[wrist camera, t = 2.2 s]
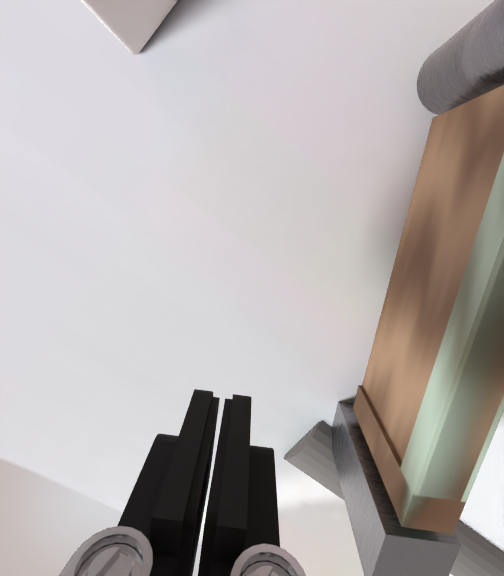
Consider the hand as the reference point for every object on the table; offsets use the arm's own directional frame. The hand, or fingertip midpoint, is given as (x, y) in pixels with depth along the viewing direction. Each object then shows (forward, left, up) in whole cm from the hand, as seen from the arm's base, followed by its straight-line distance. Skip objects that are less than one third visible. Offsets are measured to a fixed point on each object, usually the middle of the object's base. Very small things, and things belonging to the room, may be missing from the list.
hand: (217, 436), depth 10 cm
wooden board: (-8, -3, -9) cm, 13 cm away
